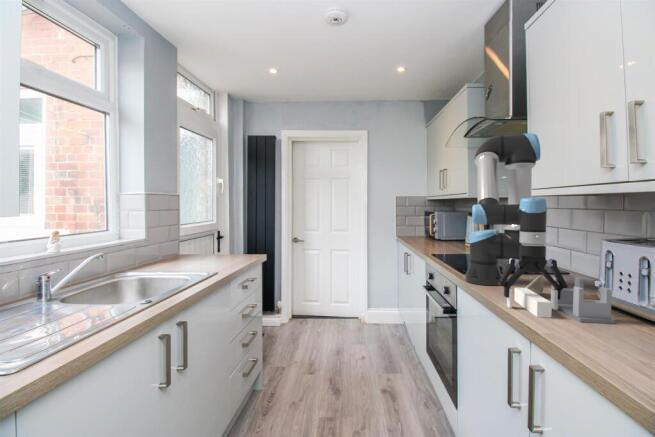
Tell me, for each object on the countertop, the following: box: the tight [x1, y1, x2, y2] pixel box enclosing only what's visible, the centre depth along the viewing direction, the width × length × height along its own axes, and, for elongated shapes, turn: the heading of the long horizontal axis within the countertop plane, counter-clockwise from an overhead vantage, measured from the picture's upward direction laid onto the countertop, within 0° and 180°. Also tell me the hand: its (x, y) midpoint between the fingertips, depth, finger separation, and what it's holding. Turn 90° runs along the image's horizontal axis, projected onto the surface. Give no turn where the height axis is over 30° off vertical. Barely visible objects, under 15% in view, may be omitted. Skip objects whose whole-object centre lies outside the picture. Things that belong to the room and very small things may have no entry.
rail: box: [513, 287, 553, 319], centre depth 111 cm, size 18×4×5 cm, turn 170°
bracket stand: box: [547, 276, 616, 325], centre depth 107 cm, size 20×9×10 cm, turn 170°
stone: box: [524, 274, 545, 296], centre depth 127 cm, size 10×7×10 cm
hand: (531, 308), depth 111 cm, fingers open, 13 cm apart
